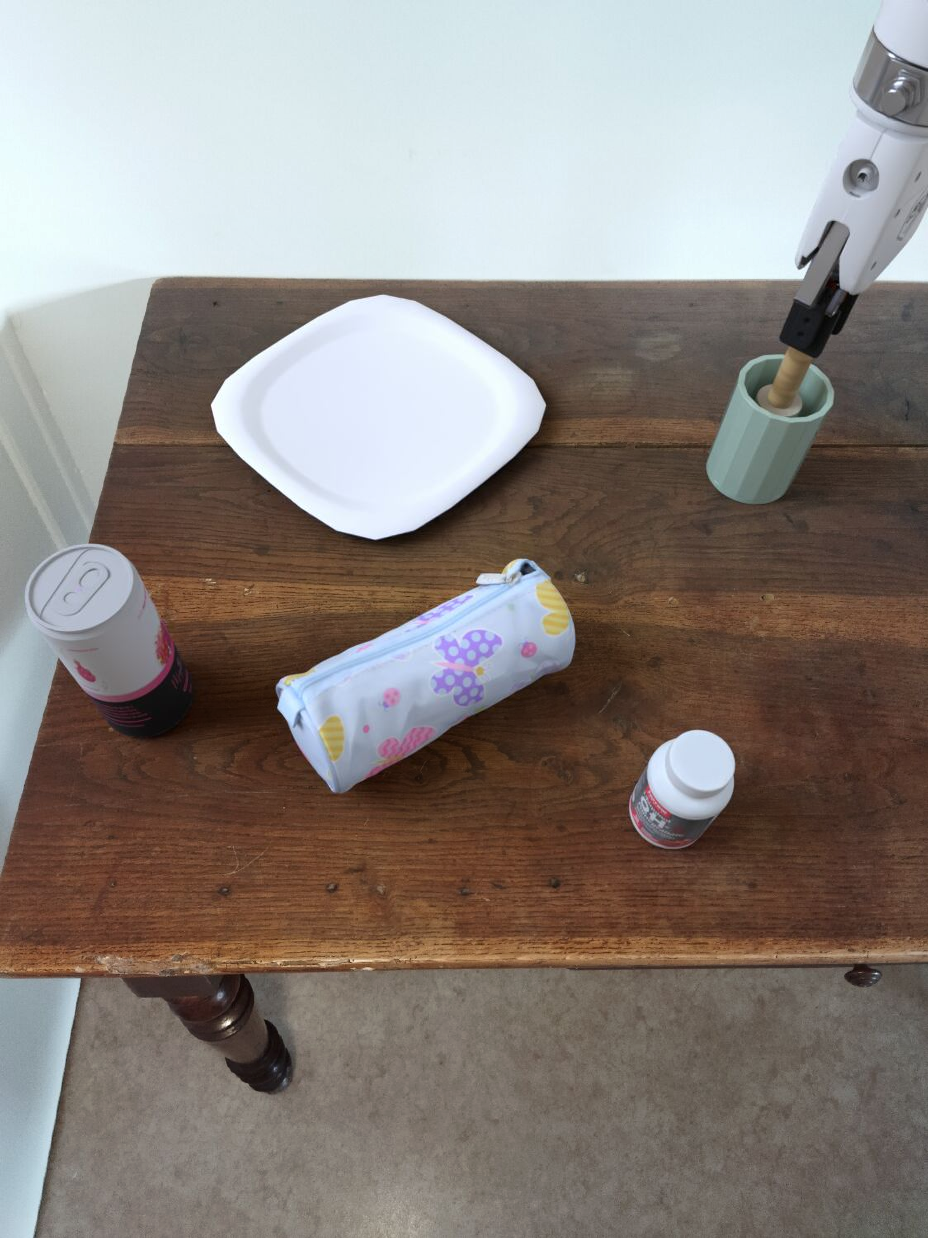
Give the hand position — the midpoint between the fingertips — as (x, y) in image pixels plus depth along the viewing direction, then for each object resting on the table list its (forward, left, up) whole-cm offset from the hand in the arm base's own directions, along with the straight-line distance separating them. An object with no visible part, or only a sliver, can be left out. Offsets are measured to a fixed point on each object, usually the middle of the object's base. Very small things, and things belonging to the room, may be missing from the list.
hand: (810, 334), depth 65 cm
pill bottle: (-11, +31, -15) cm, 36 cm away
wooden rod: (0, 0, -13) cm, 13 cm away
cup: (0, 0, -15) cm, 15 cm away
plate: (+29, +16, -15) cm, 37 cm away
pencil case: (+7, +35, -15) cm, 39 cm away
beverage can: (+23, +48, -15) cm, 55 cm away
